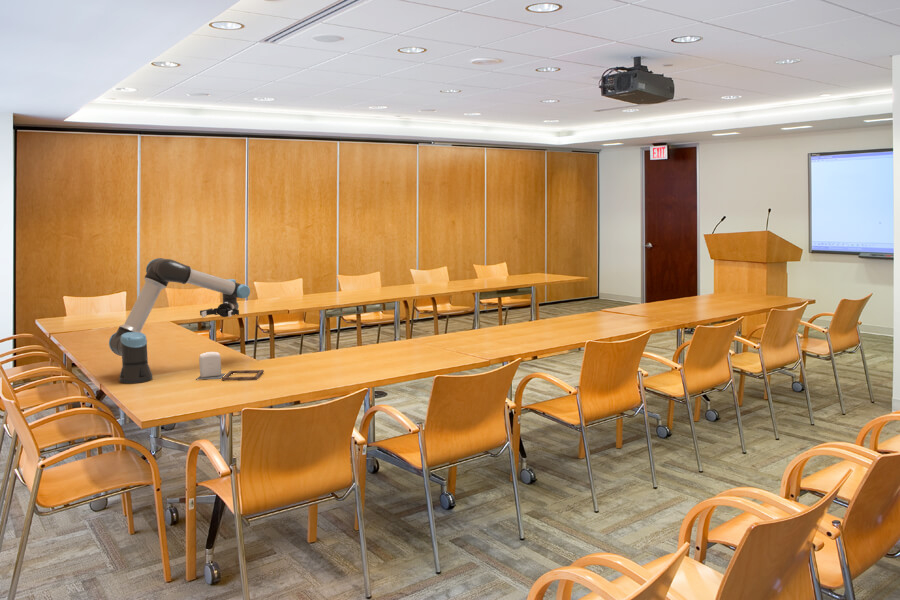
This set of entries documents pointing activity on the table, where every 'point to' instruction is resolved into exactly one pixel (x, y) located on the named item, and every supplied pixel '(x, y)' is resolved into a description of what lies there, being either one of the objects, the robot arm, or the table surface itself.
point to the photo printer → (210, 364)
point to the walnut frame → (259, 373)
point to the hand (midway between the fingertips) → (215, 314)
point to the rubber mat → (212, 377)
